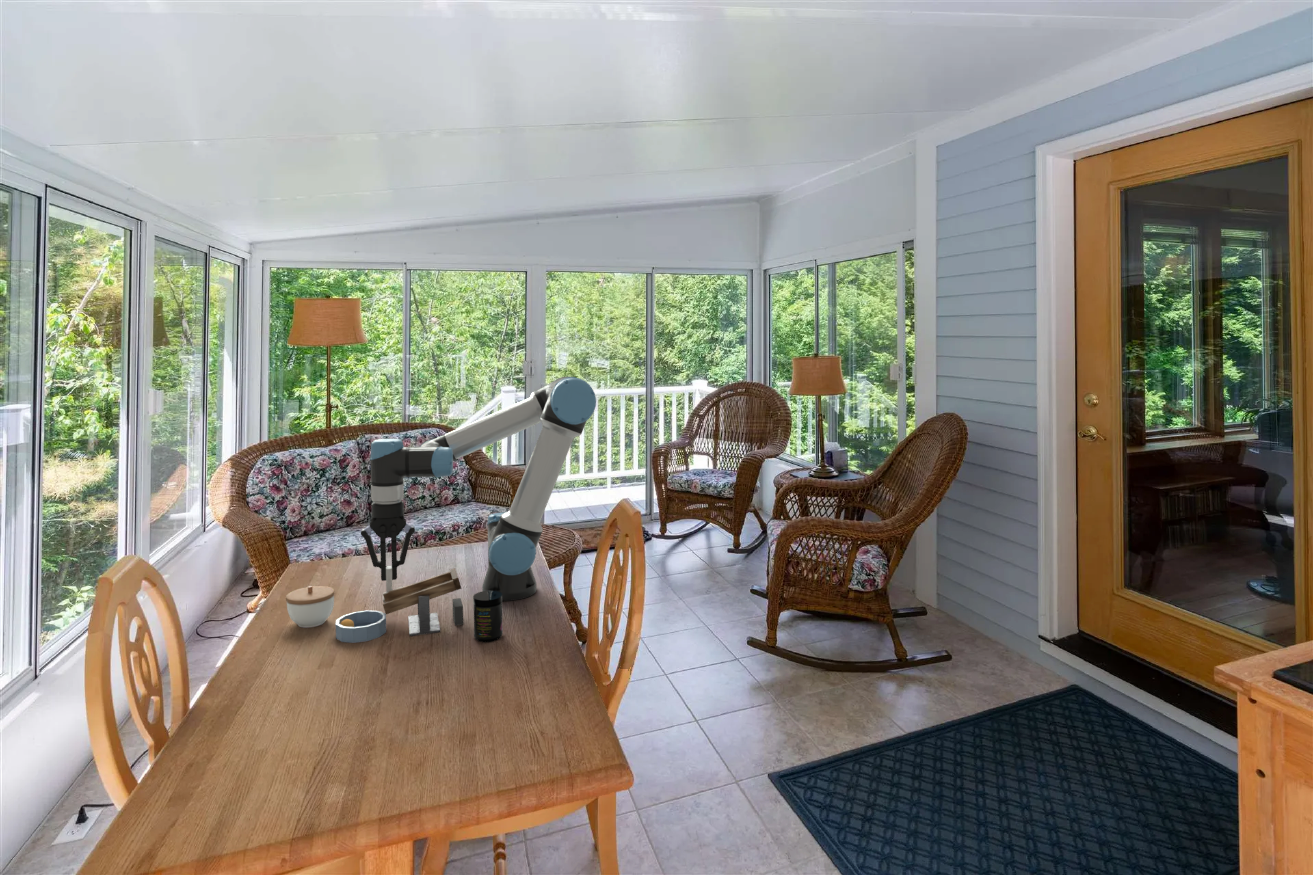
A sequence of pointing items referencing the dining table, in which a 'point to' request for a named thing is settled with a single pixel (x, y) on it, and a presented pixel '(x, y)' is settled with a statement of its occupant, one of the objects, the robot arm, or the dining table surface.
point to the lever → (420, 591)
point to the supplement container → (488, 616)
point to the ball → (347, 623)
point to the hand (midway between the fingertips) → (389, 592)
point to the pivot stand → (423, 619)
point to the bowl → (361, 626)
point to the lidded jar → (310, 605)
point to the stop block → (458, 611)
